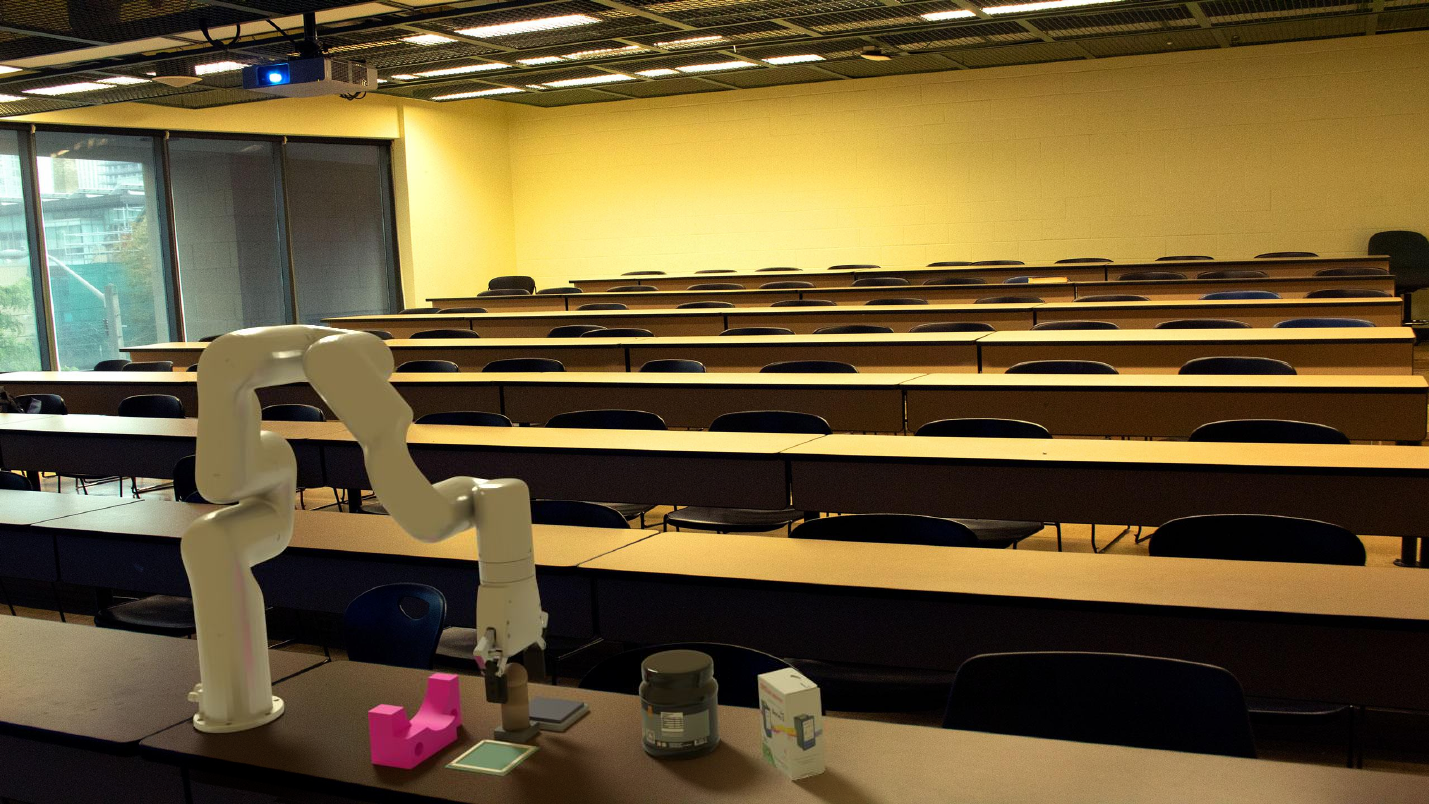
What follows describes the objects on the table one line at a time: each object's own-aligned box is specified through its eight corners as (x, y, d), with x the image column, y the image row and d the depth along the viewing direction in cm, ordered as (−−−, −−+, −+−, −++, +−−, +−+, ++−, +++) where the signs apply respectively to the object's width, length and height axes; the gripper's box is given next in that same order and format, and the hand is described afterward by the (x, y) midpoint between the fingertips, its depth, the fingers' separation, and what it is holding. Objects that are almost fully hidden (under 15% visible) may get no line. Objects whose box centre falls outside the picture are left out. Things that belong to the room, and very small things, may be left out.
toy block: (410, 771, 148) (406, 716, 147) (372, 765, 150) (368, 711, 150) (476, 727, 162) (473, 677, 161) (440, 722, 164) (436, 673, 163)
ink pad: (507, 724, 162) (506, 714, 161) (536, 704, 169) (535, 694, 169) (561, 732, 158) (561, 721, 158) (589, 710, 166) (588, 701, 165)
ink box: (826, 777, 141) (823, 686, 140) (789, 786, 139) (786, 693, 138) (794, 751, 149) (791, 665, 148) (759, 759, 147) (756, 672, 145)
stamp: (494, 740, 156) (489, 667, 155) (511, 728, 160) (507, 656, 159) (522, 744, 155) (517, 670, 153) (539, 731, 159) (534, 659, 158)
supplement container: (698, 725, 159) (694, 643, 157) (734, 752, 149) (730, 664, 148) (629, 742, 154) (625, 657, 153) (662, 771, 145) (658, 681, 143)
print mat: (444, 768, 148) (444, 765, 148) (483, 741, 156) (483, 738, 156) (503, 777, 144) (503, 774, 144) (539, 749, 153) (539, 745, 153)
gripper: (517, 552, 164) (526, 666, 166) (447, 585, 148) (458, 710, 150) (562, 554, 161) (571, 670, 163) (495, 588, 145) (506, 715, 147)
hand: (517, 689), depth 157 cm, fingers open, 9 cm apart
